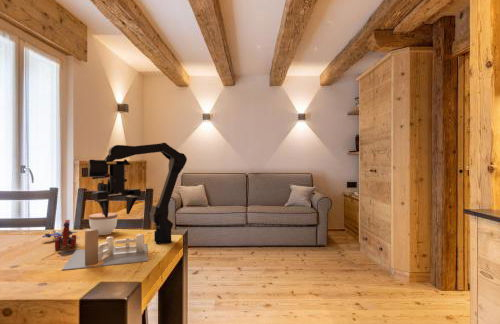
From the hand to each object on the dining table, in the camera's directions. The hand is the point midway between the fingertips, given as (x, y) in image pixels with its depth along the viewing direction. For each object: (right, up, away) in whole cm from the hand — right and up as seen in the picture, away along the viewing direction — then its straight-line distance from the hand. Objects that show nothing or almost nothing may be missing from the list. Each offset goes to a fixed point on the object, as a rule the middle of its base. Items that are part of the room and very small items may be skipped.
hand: (117, 215), depth 125 cm
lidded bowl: (-18, -13, +27) cm, 35 cm away
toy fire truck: (-22, -14, +3) cm, 26 cm away
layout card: (+2, -13, -10) cm, 17 cm away
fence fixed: (+6, -13, -7) cm, 16 cm away
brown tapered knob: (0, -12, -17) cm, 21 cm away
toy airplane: (-33, -14, +16) cm, 39 cm away
